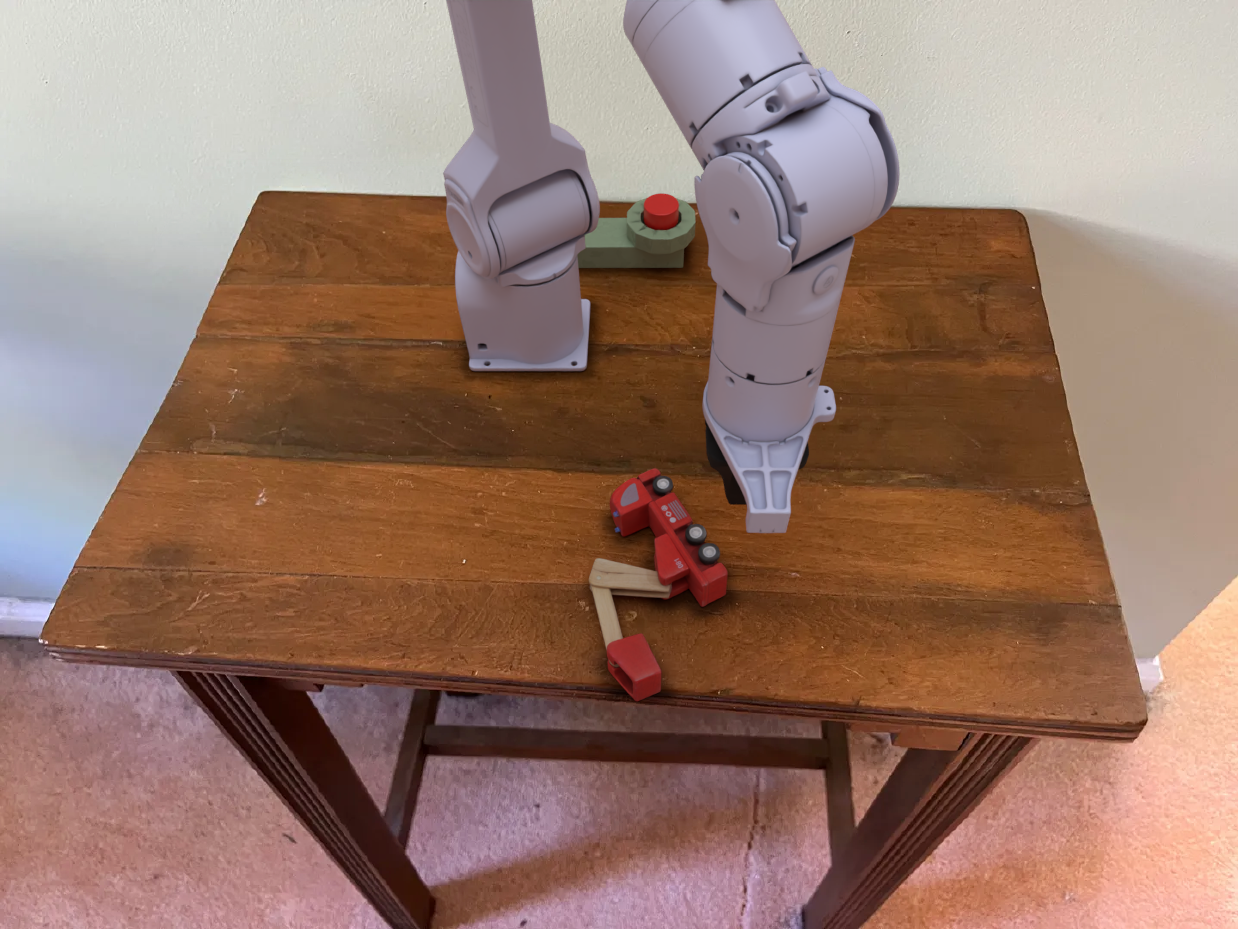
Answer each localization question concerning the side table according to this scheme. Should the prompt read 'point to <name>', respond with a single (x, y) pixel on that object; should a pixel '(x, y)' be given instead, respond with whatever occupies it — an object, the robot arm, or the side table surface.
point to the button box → (638, 241)
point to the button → (661, 211)
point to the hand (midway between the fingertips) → (744, 495)
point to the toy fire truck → (652, 573)
